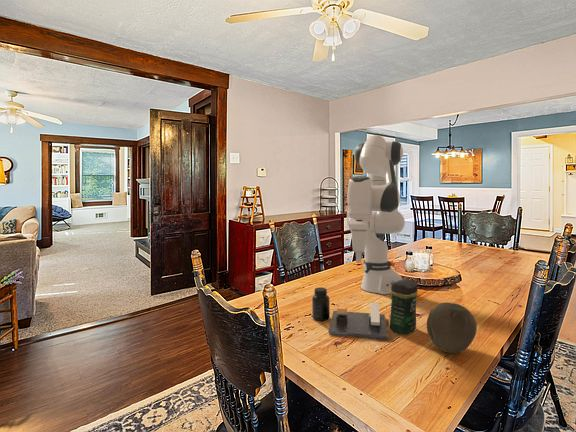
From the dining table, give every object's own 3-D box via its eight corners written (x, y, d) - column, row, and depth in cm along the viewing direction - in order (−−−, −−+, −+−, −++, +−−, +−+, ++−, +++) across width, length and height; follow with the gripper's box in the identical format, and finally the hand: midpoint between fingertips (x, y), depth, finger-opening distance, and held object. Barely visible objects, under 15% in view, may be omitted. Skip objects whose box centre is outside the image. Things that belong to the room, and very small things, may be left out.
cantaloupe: (474, 366, 95) (476, 317, 93) (422, 353, 103) (424, 308, 101) (476, 345, 107) (478, 301, 105) (429, 335, 115) (431, 293, 113)
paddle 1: (337, 313, 128) (337, 307, 129) (348, 314, 127) (348, 308, 128) (335, 315, 119) (335, 308, 119) (347, 316, 118) (347, 309, 118)
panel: (333, 314, 133) (333, 306, 133) (384, 318, 129) (384, 309, 128) (328, 334, 116) (328, 325, 115) (387, 340, 111) (387, 330, 111)
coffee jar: (407, 338, 112) (408, 286, 110) (386, 330, 118) (387, 281, 116) (419, 329, 119) (421, 279, 117) (399, 322, 125) (400, 275, 123)
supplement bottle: (317, 313, 134) (317, 285, 133) (332, 317, 130) (332, 288, 129) (309, 319, 128) (308, 290, 127) (324, 323, 125) (324, 293, 123)
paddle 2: (368, 307, 125) (368, 302, 124) (380, 308, 124) (380, 303, 123) (368, 326, 117) (369, 321, 116) (381, 327, 116) (381, 322, 115)
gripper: (351, 218, 128) (351, 252, 130) (349, 225, 109) (348, 266, 110) (367, 218, 127) (367, 253, 128) (368, 225, 107) (368, 266, 109)
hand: (358, 259), depth 119 cm, fingers open, 8 cm apart
